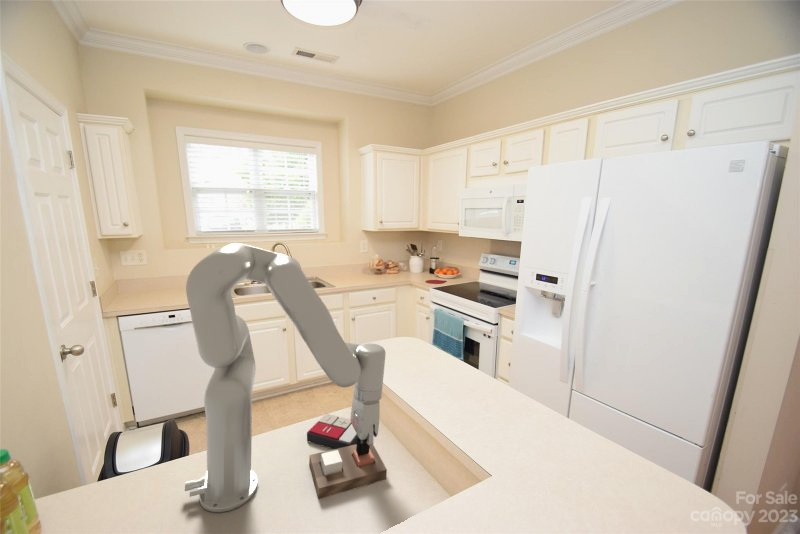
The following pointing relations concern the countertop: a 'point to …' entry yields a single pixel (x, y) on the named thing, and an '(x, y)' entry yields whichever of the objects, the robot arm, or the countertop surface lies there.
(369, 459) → the salmon pink key
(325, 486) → the key panel
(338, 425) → the calculator
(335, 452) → the white key
